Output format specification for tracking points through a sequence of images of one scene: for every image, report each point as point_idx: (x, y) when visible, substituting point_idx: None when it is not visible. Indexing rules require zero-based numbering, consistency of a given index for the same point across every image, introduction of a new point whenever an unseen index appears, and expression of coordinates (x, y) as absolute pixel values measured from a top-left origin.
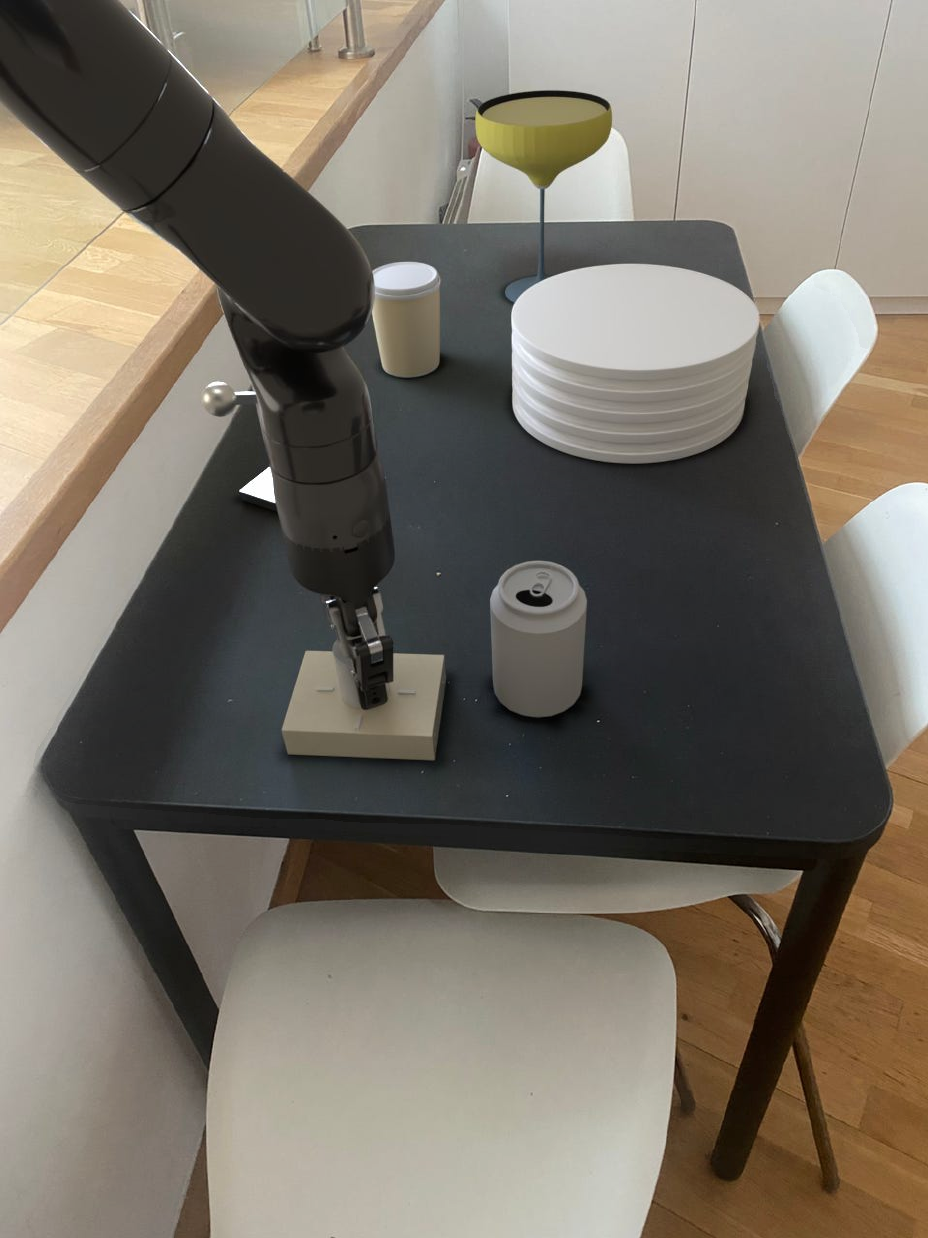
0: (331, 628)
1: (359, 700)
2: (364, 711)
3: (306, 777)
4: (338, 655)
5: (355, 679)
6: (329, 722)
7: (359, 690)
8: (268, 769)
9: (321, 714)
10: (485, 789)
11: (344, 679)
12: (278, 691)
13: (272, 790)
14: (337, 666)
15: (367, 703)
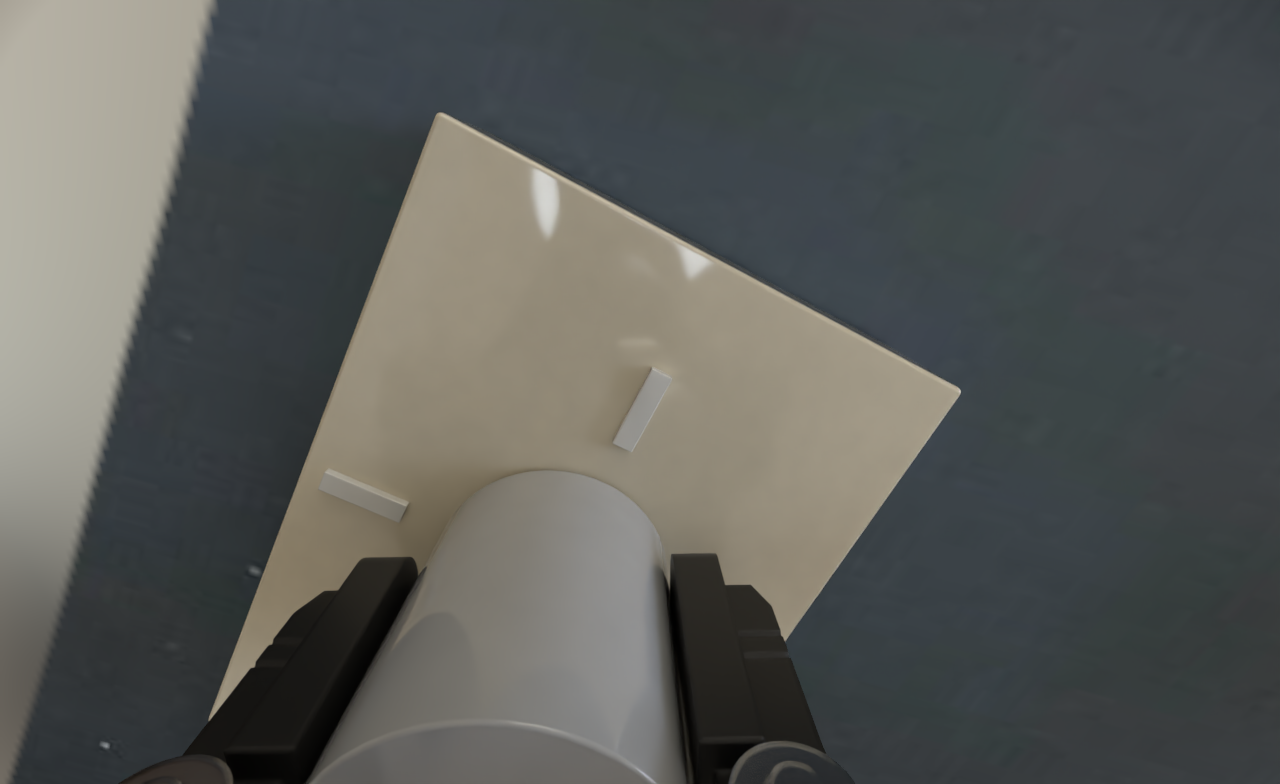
0: (807, 773)
1: (353, 587)
2: (426, 535)
3: (338, 177)
4: (438, 755)
5: (154, 775)
6: (407, 372)
7: (299, 658)
8: (432, 19)
9: (478, 349)
10: (140, 705)
11: (423, 608)
12: (869, 186)
13: (304, 6)
14: (451, 650)
15: (285, 628)
